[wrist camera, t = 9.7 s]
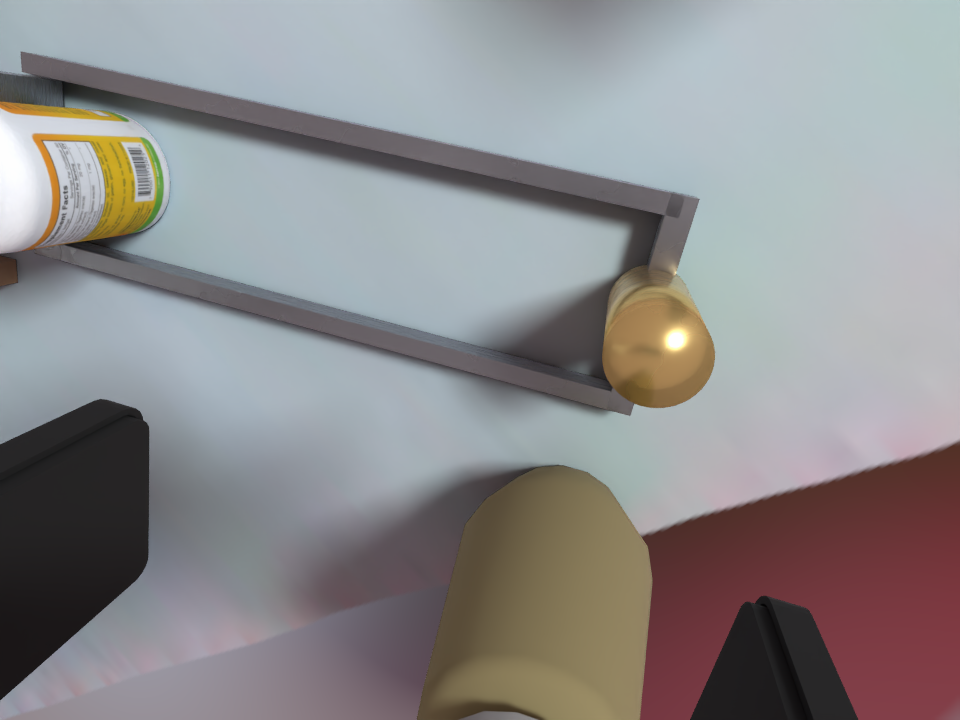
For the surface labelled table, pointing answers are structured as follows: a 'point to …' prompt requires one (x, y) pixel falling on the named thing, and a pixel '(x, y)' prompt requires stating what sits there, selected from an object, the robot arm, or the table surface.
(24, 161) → the supplement bottle
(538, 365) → the gray rectangular frame
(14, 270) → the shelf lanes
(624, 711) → the squeeze bottle
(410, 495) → the table surface
